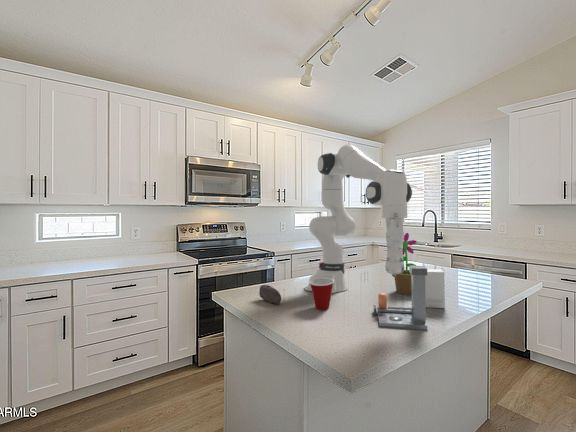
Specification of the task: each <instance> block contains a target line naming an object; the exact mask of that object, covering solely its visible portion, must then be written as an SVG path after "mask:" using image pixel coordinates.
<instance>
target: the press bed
mask: <svg viewBox="0 0 576 432" xmlns="http://www.w3.org/2000/svg"><path fill="white" fill-rule="evenodd" d="M427 269H428V268H427V267H426V266H425V265H416V266H409V267H408V270H409V272H410V273H411V295H410V296H411V308H412V315H411V314H395V313H379V312H378V313H377V317H378V318H377V319H378V327H380V328H382V327H383V328H393V329H394V328H395V329H405V330H406V329H407V330H408V329H409V330H422V331H428V324H427V323H426V322H427V321H426V320H427V319H426V314H427V313H426V310H427V309H426V307H425V275H426V276H427Z"/></svg>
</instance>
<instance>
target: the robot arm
mask: <svg viewBox="0 0 576 432" xmlns="http://www.w3.org/2000/svg"><path fill="white" fill-rule="evenodd" d="M317 170H318V172H319V173H320V174H321V175H322V181H321V205H322V206H323V207H324V208H325V209H327V210H329V211H330V212H331V215H329V216H328V215H326V216H325V215H322V216H317V217H314V218H312V219H311V220H310V222H309V227H308V228H309V232H310V234H311V235H312V236H313V237H315V238H316V239H317V241H318V242H319V244H320V246H321V252H322V253H321V254H322V261H319V262H318V268H319V269H318V270H316V271H315V272H314V273H312V274H311V275H310V277H309V279H308V283H306V284H305V285H304V290H305V291H308V292H309V291H310V292H312V288H311V285H310V283H309V281H310V280H312V279H316V278H330V279H333V280H334V283H333V286H332V292H331V294H335V293H340V292H345V291H347V290H348V288H347V283H346V277H345V271H346V264H345V261H344V259H345V258H344V248H343V246H342V245H341V244H339V243H337V242H336V241H335V239H334V237H347V236H349V235H353V234H354V233H355V231H356V230H357V229H356V228H357V224H356V220H355V219H354V218H353V217H352V216H351V215H350V214H349V213H348V212H347V210H346V208H345V204H344V194H343V193H344V191H343V189H344V188H343V181H344V180H343V179H344V177H346V178H347V179H349V178H352V177H353V178H354V179H360V180H370V181H371V182H370V183H368V184H367V186H366V188H365V197H366V200H367V201H368V203H370V204H371V205H376V206H381V218H382V219H385V226H386V231H387V230H388V229H389V227H391V228H390V238H391V239H392V240H393V251H394V252H399V241H402V240H403V232H404V222H405V221H404V220H405V219H407V218H408V202H410V200H411V199H412V196H413V189H412V187H411V185H410V183H409V182H408V181H407V176H406V175H407V174H406V173H405V172H404V171H403V170H400V169H386V168H385V167H384V166H382V165H380V164H379V163H377V162H375V161H373V160H372V159H371V158H369V157H368V156H366V154H364V153H363V151H361V150H360V149H359V148H358V147H356V146H354V145H352V144H345V145H342V146H341V147H340V148H339V150H338V151H337V153H332V152H329V153H324V154H321V155H320V156H319V157H318V161H317ZM389 224H391V225H389ZM398 226H399V227H398Z"/></svg>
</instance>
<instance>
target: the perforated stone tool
mask: <svg viewBox="0 0 576 432" xmlns="http://www.w3.org/2000/svg"><path fill="white" fill-rule="evenodd" d="M258 292H259V293H258V294H259V296H260V298H261V299H262V300H264V301H265V300H266V301H265V302H268V301H269V302H268V303H270V302H272V303H271V304H274V303H275V305H279V304H281V302H282V295H281V294H280V292H279V291H278V290H277V289H276V288H274V287H273V286H270V285H268V284H262V285H261V286H259V291H258Z"/></svg>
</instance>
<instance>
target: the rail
mask: <svg viewBox="0 0 576 432" xmlns="http://www.w3.org/2000/svg"><path fill="white" fill-rule="evenodd" d="M387 306H388V305H387ZM378 312H379V313H395V314H411V315H412V306H410V307H408V306H406V307H405V306H391V305H390V306H388V309H378V310H377V305H375V304H374V305H373V316H377V317H378Z"/></svg>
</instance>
